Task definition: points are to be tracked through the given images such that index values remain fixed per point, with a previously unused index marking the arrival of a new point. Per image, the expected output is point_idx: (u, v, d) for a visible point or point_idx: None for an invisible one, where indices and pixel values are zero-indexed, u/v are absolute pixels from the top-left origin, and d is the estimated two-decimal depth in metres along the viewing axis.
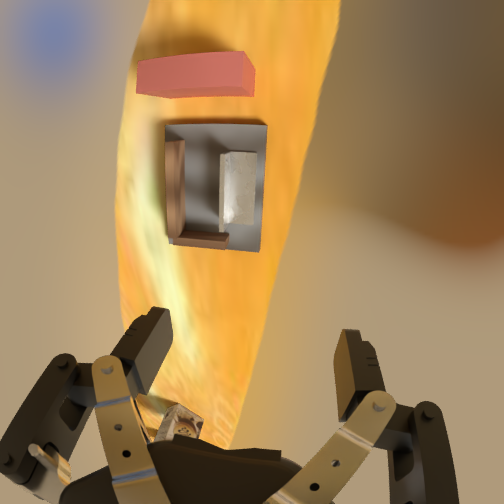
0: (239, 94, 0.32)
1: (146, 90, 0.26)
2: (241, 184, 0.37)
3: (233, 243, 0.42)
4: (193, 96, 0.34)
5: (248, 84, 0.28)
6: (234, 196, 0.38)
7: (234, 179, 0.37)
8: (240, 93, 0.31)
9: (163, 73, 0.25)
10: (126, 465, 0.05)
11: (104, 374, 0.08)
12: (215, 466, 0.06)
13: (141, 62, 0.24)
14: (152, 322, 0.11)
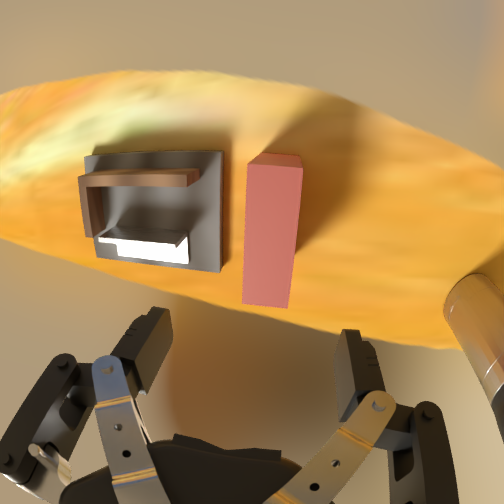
0: None
1: (249, 182, 0.20)
2: None
3: None
4: None
5: None
6: None
7: None
8: None
9: (271, 210, 0.21)
10: (126, 465, 0.05)
11: (104, 374, 0.08)
12: (215, 466, 0.06)
13: (299, 174, 0.20)
14: (152, 322, 0.11)
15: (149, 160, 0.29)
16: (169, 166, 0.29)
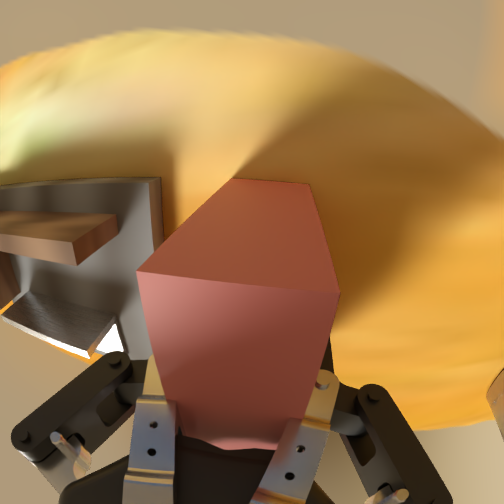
0: None
1: (152, 323, 0.06)
2: None
3: None
4: None
5: None
6: None
7: None
8: None
9: (229, 391, 0.07)
10: (146, 463, 0.05)
11: None
12: (215, 466, 0.06)
13: (323, 311, 0.05)
14: None
15: (46, 199, 0.15)
16: (72, 209, 0.15)
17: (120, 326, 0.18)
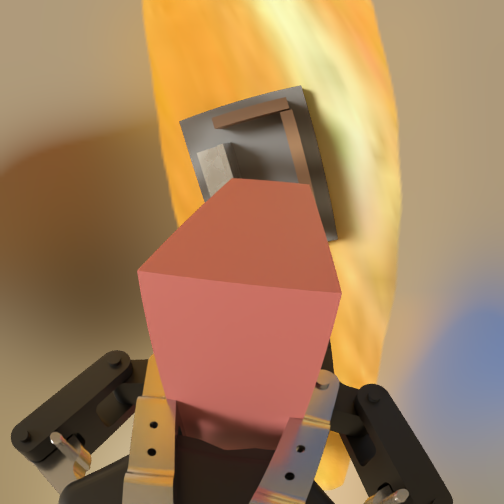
0: None
1: (153, 323, 0.06)
2: None
3: (212, 118, 0.29)
4: None
5: None
6: None
7: None
8: None
9: (230, 391, 0.07)
10: (146, 463, 0.05)
11: None
12: (215, 466, 0.06)
13: (325, 311, 0.05)
14: None
15: (315, 172, 0.30)
16: (314, 195, 0.31)
17: None
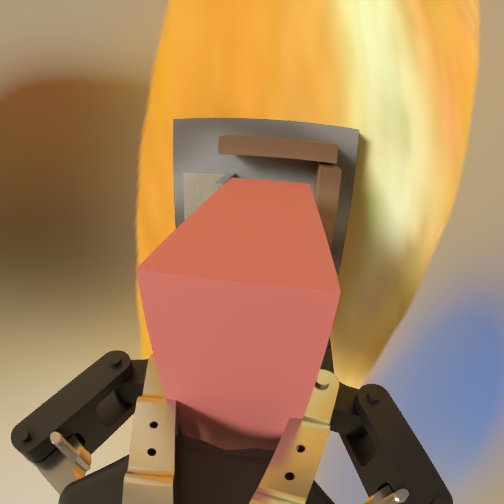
0: None
1: (152, 322, 0.06)
2: None
3: (220, 131, 0.20)
4: None
5: None
6: None
7: None
8: None
9: (229, 390, 0.07)
10: (147, 463, 0.05)
11: None
12: (215, 466, 0.06)
13: (324, 309, 0.05)
14: None
15: (331, 250, 0.23)
16: None
17: None
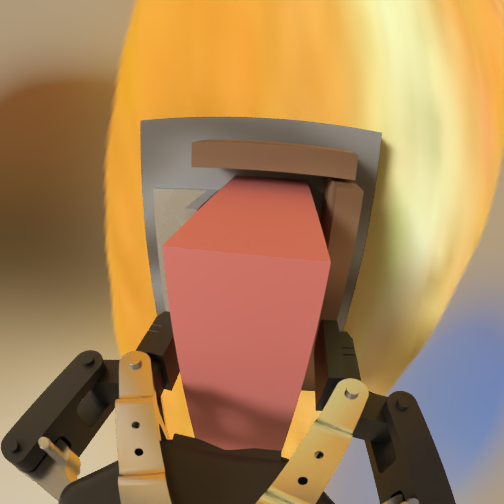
0: None
1: (173, 293, 0.07)
2: None
3: (199, 134, 0.15)
4: None
5: None
6: None
7: None
8: None
9: (237, 356, 0.08)
10: (136, 463, 0.05)
11: (133, 370, 0.09)
12: (215, 466, 0.06)
13: (317, 278, 0.07)
14: None
15: None
16: None
17: None
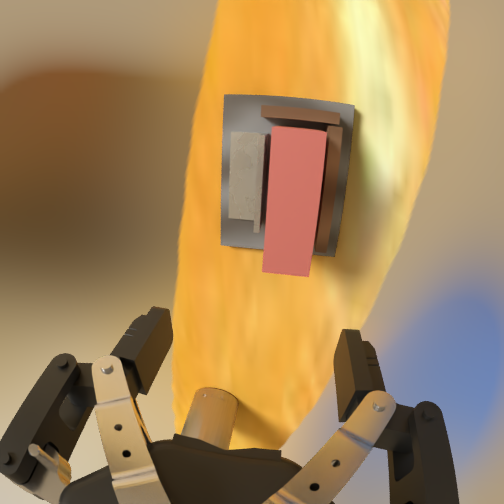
0: None
1: (273, 144, 0.20)
2: (245, 182, 0.31)
3: (258, 103, 0.27)
4: None
5: None
6: (254, 167, 0.30)
7: (254, 188, 0.31)
8: None
9: (295, 172, 0.20)
10: (126, 465, 0.05)
11: (104, 374, 0.08)
12: (215, 466, 0.06)
13: (323, 137, 0.19)
14: (152, 322, 0.11)
15: (337, 190, 0.30)
16: None
17: (253, 220, 0.33)
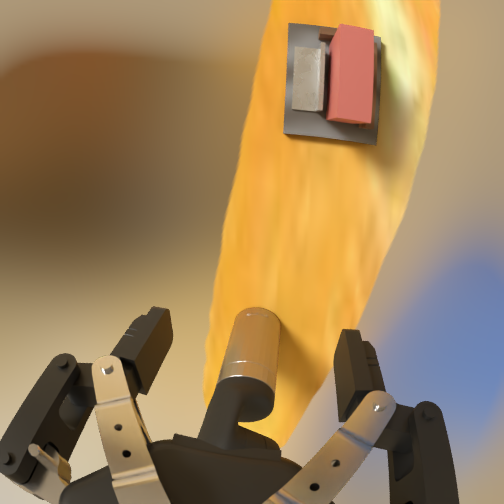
0: (328, 108, 0.34)
1: (341, 33, 0.23)
2: (306, 82, 0.34)
3: (314, 30, 0.31)
4: (329, 66, 0.32)
5: (338, 119, 0.32)
6: (313, 71, 0.34)
7: (312, 86, 0.35)
8: (329, 110, 0.33)
9: (356, 50, 0.24)
10: (126, 466, 0.05)
11: (104, 374, 0.08)
12: (215, 466, 0.06)
13: (371, 33, 0.22)
14: (152, 322, 0.11)
15: None
16: None
17: (311, 111, 0.37)
